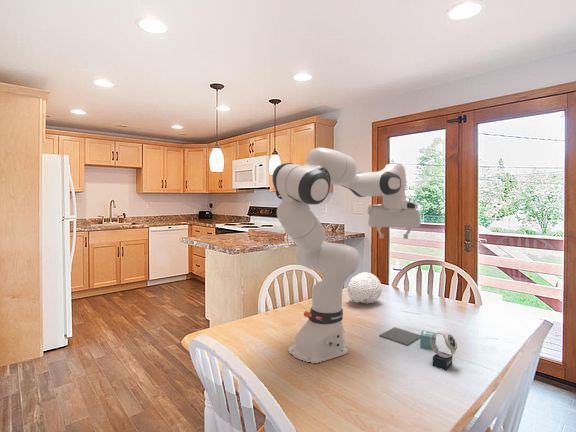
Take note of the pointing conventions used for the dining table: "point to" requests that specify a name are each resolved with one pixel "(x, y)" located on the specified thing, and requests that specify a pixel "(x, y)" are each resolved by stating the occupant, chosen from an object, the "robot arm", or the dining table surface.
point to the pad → (400, 336)
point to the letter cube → (426, 339)
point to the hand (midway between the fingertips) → (393, 238)
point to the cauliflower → (364, 288)
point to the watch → (443, 358)
